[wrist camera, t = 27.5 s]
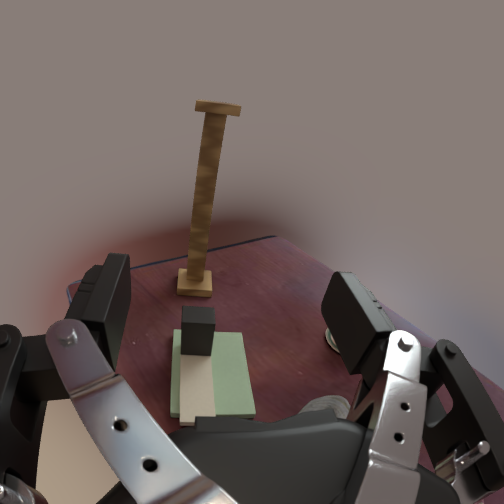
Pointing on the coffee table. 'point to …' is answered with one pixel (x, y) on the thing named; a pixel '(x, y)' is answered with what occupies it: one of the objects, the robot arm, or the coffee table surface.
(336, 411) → the seashell
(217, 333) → the pale green rectangular panel
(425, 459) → the coffee table surface
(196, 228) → the stand
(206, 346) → the wooden mallet
